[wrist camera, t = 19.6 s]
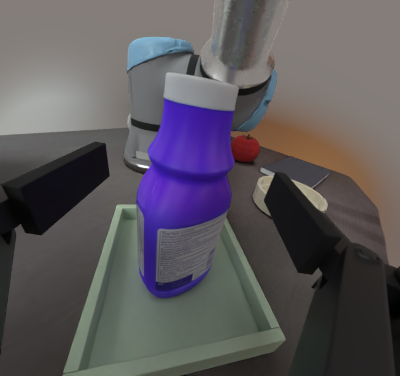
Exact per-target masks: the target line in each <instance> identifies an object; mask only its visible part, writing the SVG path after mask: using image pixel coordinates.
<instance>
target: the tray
mask: <svg viewBox="0 0 400 376" xmlns="http://www.w3.org/2000/svg"><path fill="white" fill-rule="evenodd" d="M279 327H280V326H279V324H278V322H277V320H276V318H275V316H274V314H273V312H272V310H271V308H270V306H269V304H268V302H267V300H266V297H265V295H264V293H263V291H262V289H261V287H260V285H259V283H258V281H257V279H256V277H255V275H254V273H253V271H252V269H251V267H250V265H249V263H248V261H247V259H246V257H245V255H244V253H243V251H242V249H241V246H240V244H239V242H238V240H237V238H236V236H235V234H234V232H233V230H232V228H231V226H230V224H229V222H228V220H227V218H225V222H224V225H223V228H222V231H221V234H220V237H219V240H218V244H217V247H216V250H215V254H214V257H213V260H212V263H211V267H210V269H209V271H208V273H207V274H206V276H205V277H204V278H203V279H202V280H201V281H200V282H199V283H198V284H197V285H196V286H194V287H193V288H191V289H190V290H188V291H186V292H184V293H182V294H180V295H177V296H174V297H170V298H158V297H156V296H154V295H153V294H151V293H150V292H149V290H148V289H147V287H146V285H145V284H144V283H143V281H142V278H141V276H140V273H139V264H138V243H137V213H136V205H117V207H116V210H115V213H114V216H113V219H112V222H111V226H110V229H109V232H108V235H107V238H106V241H105V244H104V247H103V250H102V253H101V256H100V260H99V263H98V266H97V269H96V272H95V275H94V278H93V281H92V284H91V287H90V290H89V294H88V297H87V300H86V303H85V306H84V309H83V312H82V315H81V318H80V321H79V324H78V327H77V331H76V334H75V337H74V340H73V343H72V346H71V349H70V352H69V355H68V358H67V361H66V365H65V368H64V371H63V374H64V375H62V376H181V375H185V374H189V373H193V372H197V371H201V370H205V369H209V368H213V367H216V366H220V365H224V364H228V363H232V362H236V361H240V360H244V359H248V358H252V357H255V356H259V355H263V354H267V353H271V352H274V351H275V350H276V349H277V348H278V347H279V346H280V345H281V344H282V343H283V342H284V341H285V340H286V338H285V336H284V334H283V332H282V330H281V328H279Z"/></svg>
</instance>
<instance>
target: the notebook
mask: <svg viewBox="0 0 400 376" xmlns="http://www.w3.org/2000/svg"><path fill="white" fill-rule="evenodd" d="M259 172H261V173H263V174H265V175H267V176H274V174H275V172H281V173H286V175H287V176H288V177H289V178H290V179H292V180H295V181H297V182H300V183H302V184H305V185H306V186H308V187H310V188H312V189H313V188H315V187H316V186H317V185H318V184H319V183H321V182H322V181H323V180H324V179H325V178H327V177H328V176H329V173H330V172H331V171H330V170H327V169H325V168H322V167H319V166H316V165H314V164H311V163H308V162H306V161H303V160H300V159H297V158H295V157H292V156H291V157H288V158H285V159H282V160H279V161H276V162H273V163H270V164H267V165H264V166H261V168H260V170H259Z"/></svg>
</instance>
